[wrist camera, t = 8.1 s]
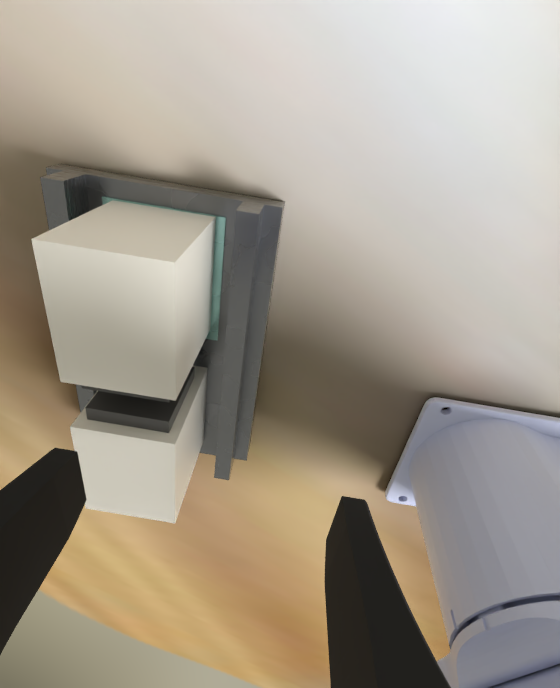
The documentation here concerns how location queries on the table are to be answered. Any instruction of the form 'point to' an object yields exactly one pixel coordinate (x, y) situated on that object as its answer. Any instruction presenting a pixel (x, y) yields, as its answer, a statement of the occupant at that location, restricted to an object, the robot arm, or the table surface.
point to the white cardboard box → (128, 297)
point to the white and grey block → (141, 450)
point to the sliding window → (227, 289)
